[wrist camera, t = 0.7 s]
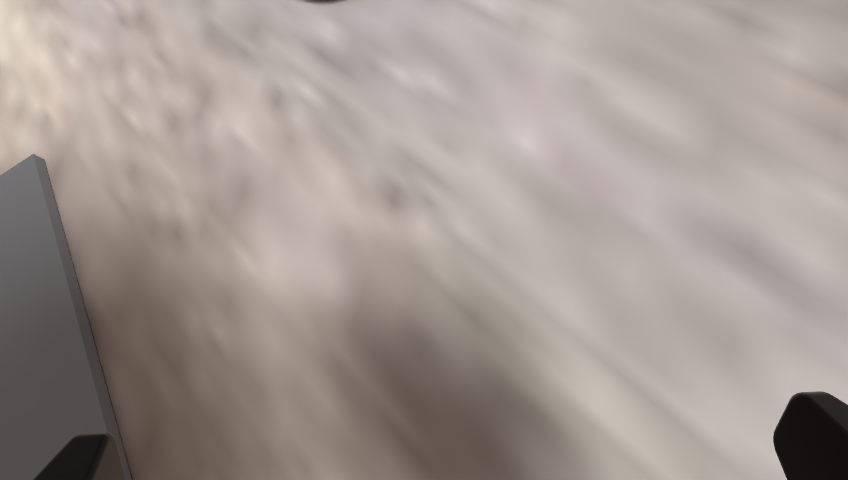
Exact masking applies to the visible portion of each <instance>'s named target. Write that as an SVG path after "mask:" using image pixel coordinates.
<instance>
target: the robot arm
mask: <svg viewBox="0 0 848 480" xmlns="http://www.w3.org/2000/svg"><path fill="white" fill-rule="evenodd" d="M773 442H774V447H775V451H776V453H777V456H778V458H779V461H780V463H781V466H782V468H783V471H784V473H785V475H786V478H787V480H848V405H847V404H845V403H844V402H842V401H840V400H839V399H837V398H836V397H834V396H832V395H830V394H829V393H826V392H801V393H797V394H795V395H794V396H793V397H792V398H791V399H790V401H789V403H788V405H787V407H786V409H785V411H784V413H783V415H782V417H781V419H780V421H779V423H778V425H777V427H776V429H775V431H774V436H773ZM33 480H126V479H125V473H124V469H123V465H122V461H121V458H120V454H119V450H118V447H117V443H116V440H115V437H114V436H113V435H112V434H111V433H109V432H98V433H82V434H78V435H76V436H74V437H73V438H71V439H70V440H69V441H68V442H67V443H66V445H65V446H64V447H63V448H62V449H61V450H60V451H59V452H58V453H57V454H56V455H55V456H54V457H53V458H52V459H51V461H50V462H49V463H48V464H47V465H46V466H45V467H44V468H43V469H42V470H41V471H40V472H39V473H38V474H37V475H36V477H35V478H34V479H33Z"/></svg>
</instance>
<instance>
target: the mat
mask: <svg viewBox="0 0 848 480" xmlns="http://www.w3.org/2000/svg"><path fill="white" fill-rule="evenodd" d="M98 432H109V433H111V434H112V435H113V436H114V437H115V440H116V443H117V447H118V450H119V454H120V458H121V461H122V465H123V469H124V473H125V479H126V480H132V478H131V474H130V471H129V467H128V463H127V460H126V456H125V452H124V449H123V445H122V441H121V438H120V434H119V430H118V427H117V423H116V420H115V416H114V412H113V409H112V405H111V401H110V398H109V394H108V390H107V387H106V383H105V379H104V376H103V372H102V368H101V365H100V361H99V358H98V354H97V350H96V347H95V343H94V339H93V336H92V332H91V328H90V325H89V321H88V317H87V314H86V310H85V307H84V303H83V299H82V296H81V292H80V288H79V285H78V281H77V277H76V274H75V270H74V266H73V263H72V259H71V255H70V252H69V248H68V245H67V241H66V237H65V234H64V230H63V226H62V223H61V219H60V215H59V212H58V208H57V204H56V201H55V197H54V193H53V190H52V186H51V183H50V179H49V175H48V172H47V168H46V164H45V161H44V159H42V158H40V157H38V156H36V155H34V154H32V155H31V156H29V157H28V158H26V159H25V160H23V161H22V162H20V163H19V164H17V165H16V166H14V167H13V168H11V169H10V170H8V171H7V172H5V173H4V174H2V175H1V176H0V480H33V479H34V478H35V477H36V475H37V474H38V473H39V472H40V471H41V470H42V469H43V468H44V467H45V466H46V465H47V464H48V463H49V462H50V461H51V459H52V458H53V457H54V456H55V455H56V454H57V453H58V452H59V451H60V450H61V449H62V448H63V447H64V446H65V445H66V443H67V442H68V441H69V440H70V439H71V438H73V437H74V436H76V435H78V434H82V433H98Z"/></svg>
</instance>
